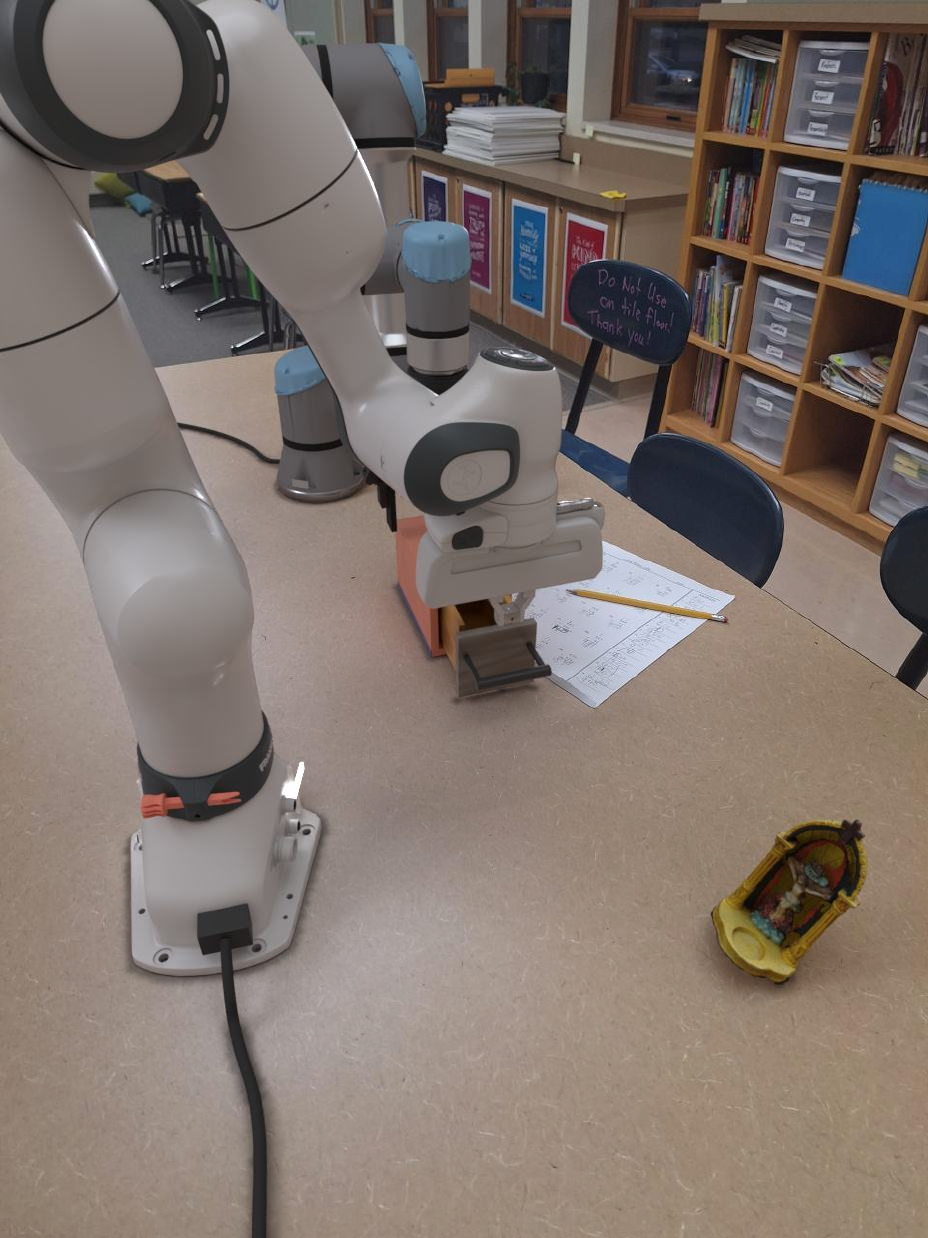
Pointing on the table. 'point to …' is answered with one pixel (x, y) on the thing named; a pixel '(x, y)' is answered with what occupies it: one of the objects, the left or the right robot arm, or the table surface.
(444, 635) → the drawer
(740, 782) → the table surface
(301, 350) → the right robot arm
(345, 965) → the table surface
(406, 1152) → the table surface
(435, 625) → the cabinet
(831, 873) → the shrine
